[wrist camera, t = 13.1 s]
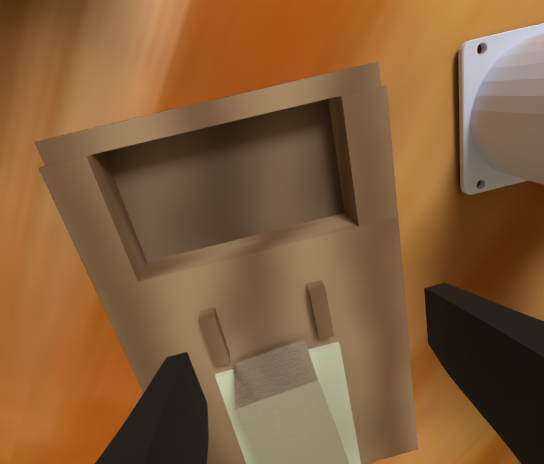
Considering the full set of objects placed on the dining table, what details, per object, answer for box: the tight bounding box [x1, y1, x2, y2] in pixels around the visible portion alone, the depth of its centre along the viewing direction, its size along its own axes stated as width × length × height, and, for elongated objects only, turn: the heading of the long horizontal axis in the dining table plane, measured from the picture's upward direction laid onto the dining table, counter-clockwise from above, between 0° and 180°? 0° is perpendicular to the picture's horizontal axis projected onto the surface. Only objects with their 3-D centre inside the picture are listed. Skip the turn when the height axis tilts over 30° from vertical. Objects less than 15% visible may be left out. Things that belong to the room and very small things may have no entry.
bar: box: [234, 339, 350, 464], centre depth 20 cm, size 4×11×3 cm, turn 19°
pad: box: [215, 342, 361, 464], centre depth 22 cm, size 7×10×1 cm
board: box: [35, 62, 418, 464], centre depth 20 cm, size 15×24×4 cm, turn 13°
